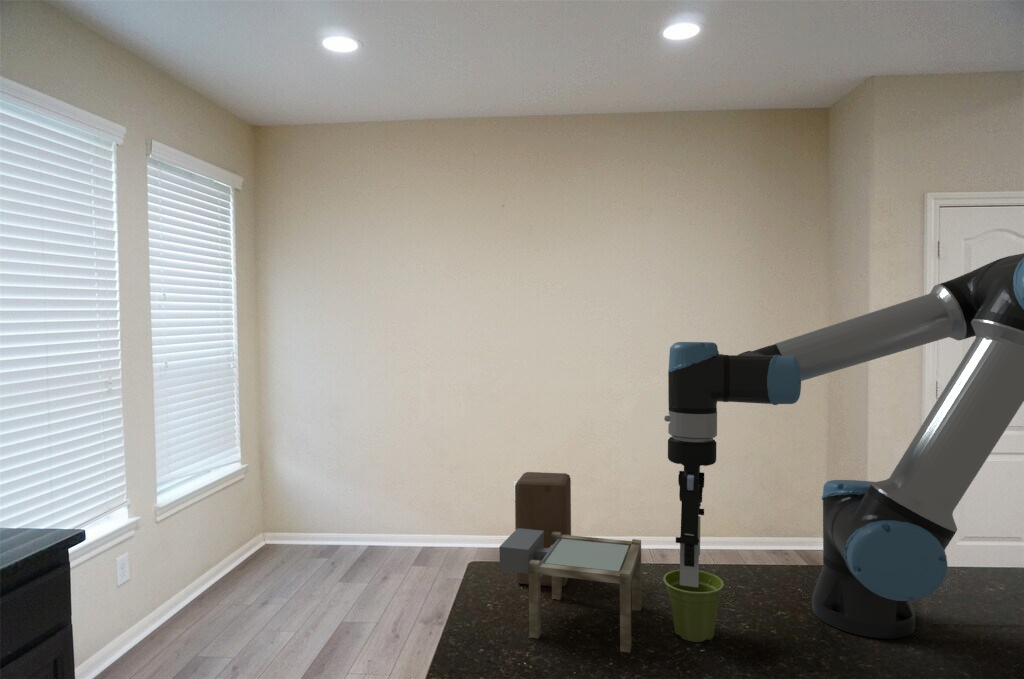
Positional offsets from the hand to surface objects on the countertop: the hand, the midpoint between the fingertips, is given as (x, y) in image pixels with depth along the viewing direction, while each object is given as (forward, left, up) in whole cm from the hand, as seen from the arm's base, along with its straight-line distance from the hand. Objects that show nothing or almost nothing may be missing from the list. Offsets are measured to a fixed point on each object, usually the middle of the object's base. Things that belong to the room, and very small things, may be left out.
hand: (690, 568), depth 98 cm
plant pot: (0, 0, -11) cm, 11 cm away
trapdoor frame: (+17, +1, -11) cm, 20 cm away
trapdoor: (+20, +1, -1) cm, 21 cm away
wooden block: (+29, -15, -11) cm, 34 cm away
